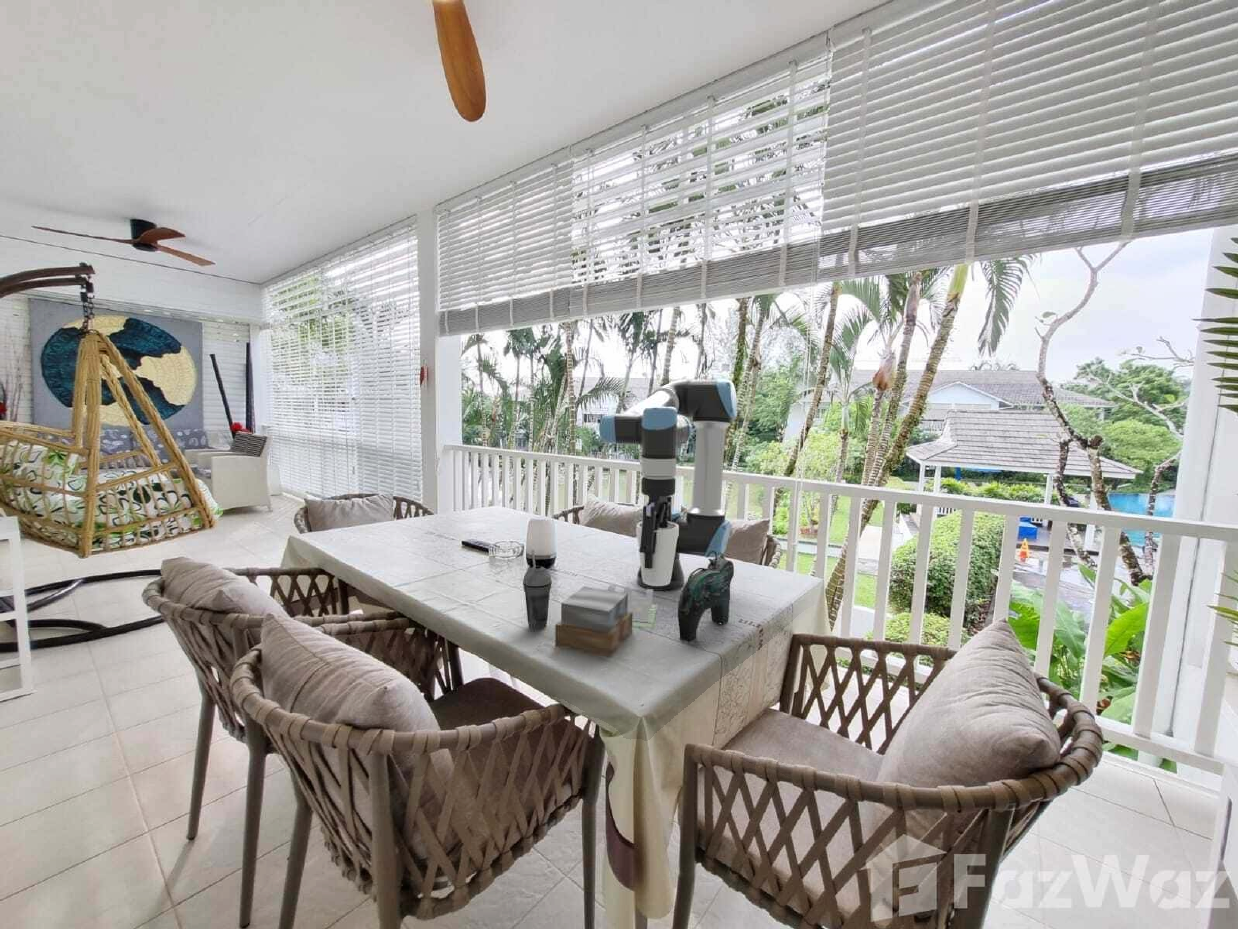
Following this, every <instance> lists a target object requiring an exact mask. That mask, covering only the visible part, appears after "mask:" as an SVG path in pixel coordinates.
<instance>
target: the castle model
mask: <svg viewBox="0 0 1238 929" xmlns="http://www.w3.org/2000/svg"><path fill="white" fill-rule="evenodd" d="M607 590H609V591H615V592H616V586H613V585H608V587H607ZM622 593H628V609H627V611H629V612H633V618H632V627H642V628H652V627H653V623H654V620H655V617H656V614H655V613H656V612H657V609H658V606H659V604H656V603H653V595H654V589H649V588H646V590H645V595H646V596H638V595H635V596H634V589H632V588H631V587H629V586H627V587H626V588H624V589H623V591H622ZM652 606H654V607H652ZM650 609H651V610H650ZM652 609H654V610H652Z"/></svg>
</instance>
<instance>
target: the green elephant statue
mask: <svg viewBox="0 0 1238 929" xmlns="http://www.w3.org/2000/svg"><path fill="white" fill-rule="evenodd" d="M712 552H714V553H715V556H716V558H710V557H709V555H710V553H712ZM707 558H708V561H709V562H708V565H707V567H706V568H705V567H704V568H703V567H698V568H696V569H694V570H693V571H692V572H691V573H689V576H688V578H687V581H686V582H685V583H684V585H683V588H682V591H681V593H680V597H679V601H678V603H677V604H678V606H677V620H678V628H679V639H680V640H681V641H683V642H686V643H691V642H694V641H695V640H696V639H697V635H698V634H697V633H698V628H699V623H700V621H701V618H702V616H703V615H704V613H705V612H706V611H707V610H709V609H710V614H711V615H710V616H711V617H710V618H711V621H712V622H713V621H714V623H715V622H716V624H718V623H721V624H722V625H723V623H724V624H725V623H727V622H728V621H729V616H730V615H729V614H730V601H731V582H732V580H733V577H734V575H735V574H734V573H735V567H734V566H735V565H734V563H733V561H731V560H729V559H727V558H726V557H725V555H724V553H723V554H722V553H721V556H720V557H719V558H717V553H716V552H715V551H712V550H711V551H709V552H708V554H707ZM726 621H727V622H726ZM721 624H720V625H721Z"/></svg>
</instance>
